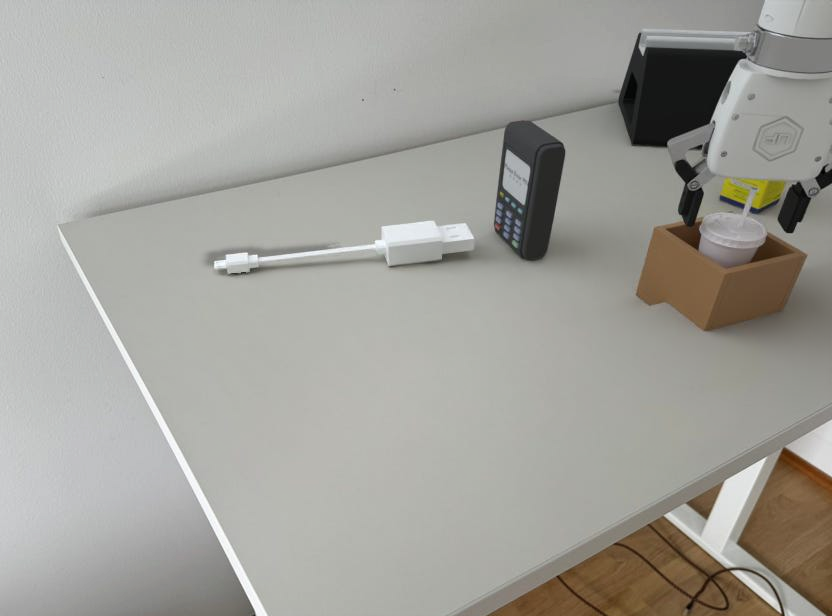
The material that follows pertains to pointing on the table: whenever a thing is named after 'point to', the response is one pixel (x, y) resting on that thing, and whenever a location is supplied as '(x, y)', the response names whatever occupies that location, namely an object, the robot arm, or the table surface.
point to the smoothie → (732, 236)
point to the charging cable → (379, 247)
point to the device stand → (675, 82)
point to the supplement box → (740, 189)
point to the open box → (716, 278)
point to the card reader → (528, 188)
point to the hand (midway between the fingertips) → (735, 223)
